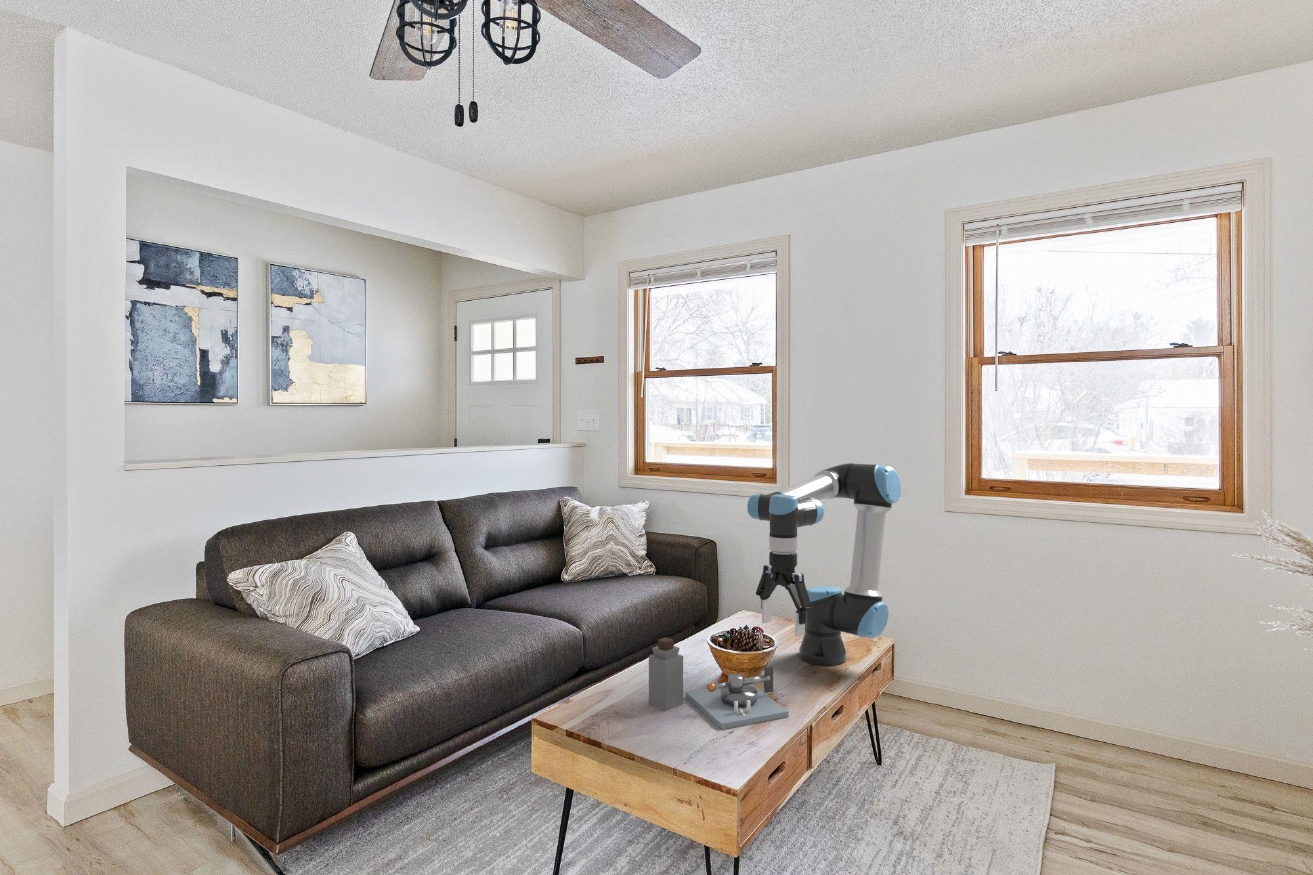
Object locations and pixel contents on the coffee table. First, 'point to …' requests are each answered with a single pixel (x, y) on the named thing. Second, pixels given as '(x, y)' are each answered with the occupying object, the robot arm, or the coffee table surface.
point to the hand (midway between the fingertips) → (782, 628)
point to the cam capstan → (743, 687)
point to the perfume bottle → (666, 675)
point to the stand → (736, 708)
